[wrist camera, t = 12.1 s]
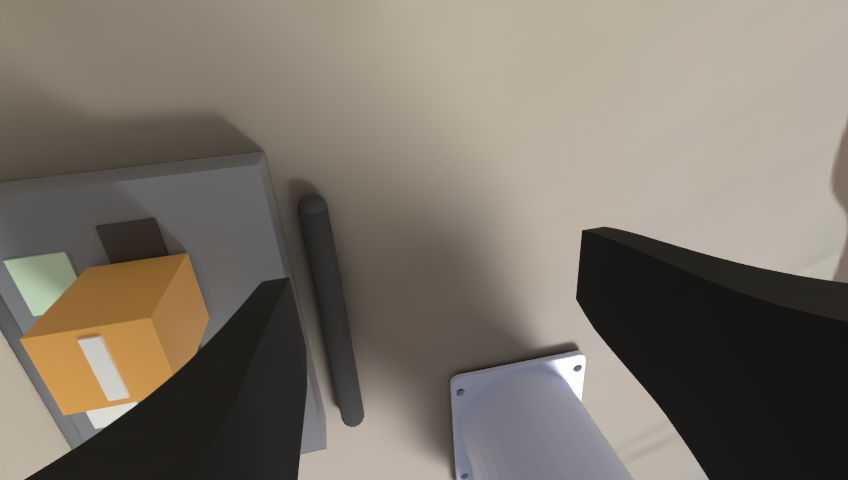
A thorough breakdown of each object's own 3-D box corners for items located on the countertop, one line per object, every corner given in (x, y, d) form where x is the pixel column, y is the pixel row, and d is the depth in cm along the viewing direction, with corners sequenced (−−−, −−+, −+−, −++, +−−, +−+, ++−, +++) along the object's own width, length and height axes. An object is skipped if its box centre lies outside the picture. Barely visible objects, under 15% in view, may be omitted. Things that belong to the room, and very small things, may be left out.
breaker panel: (325, 418, 25) (326, 450, 23) (130, 458, 24) (114, 496, 22) (264, 150, 18) (257, 165, 17) (-13, 183, 17) (-54, 203, 15)
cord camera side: (123, 462, 24) (113, 482, 23) (97, 467, 23) (87, 488, 22) (0, 231, 18) (-21, 244, 17) (-35, 236, 18) (-58, 249, 17)
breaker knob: (209, 317, 19) (180, 395, 15) (117, 333, 18) (62, 417, 14) (187, 252, 17) (148, 319, 14) (87, 267, 17) (17, 341, 13)
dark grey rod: (364, 412, 26) (366, 429, 24) (342, 416, 25) (343, 433, 24) (324, 188, 20) (325, 197, 19) (296, 191, 19) (294, 201, 18)
